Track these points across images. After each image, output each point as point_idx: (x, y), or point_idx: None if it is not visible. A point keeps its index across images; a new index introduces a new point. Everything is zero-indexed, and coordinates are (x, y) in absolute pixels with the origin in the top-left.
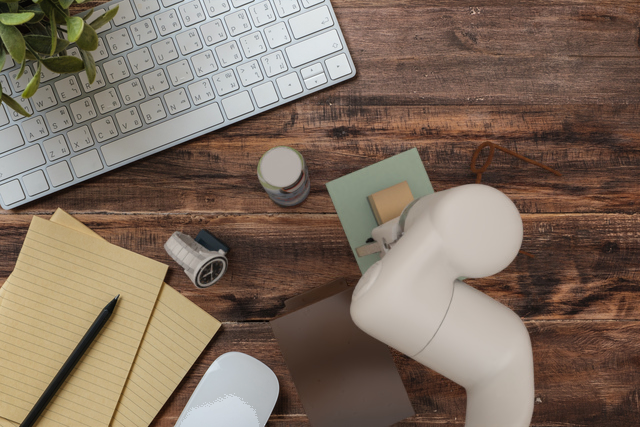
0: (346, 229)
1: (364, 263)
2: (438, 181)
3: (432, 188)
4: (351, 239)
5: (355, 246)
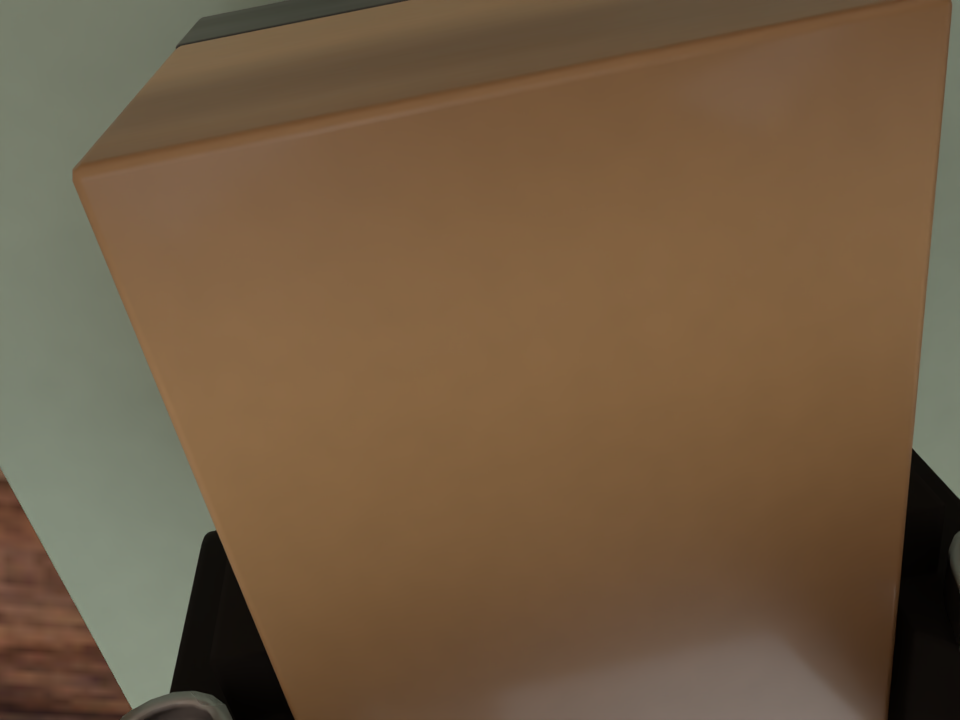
0: (955, 475)
1: (956, 156)
2: (65, 708)
3: (125, 690)
4: (956, 393)
5: (953, 330)
